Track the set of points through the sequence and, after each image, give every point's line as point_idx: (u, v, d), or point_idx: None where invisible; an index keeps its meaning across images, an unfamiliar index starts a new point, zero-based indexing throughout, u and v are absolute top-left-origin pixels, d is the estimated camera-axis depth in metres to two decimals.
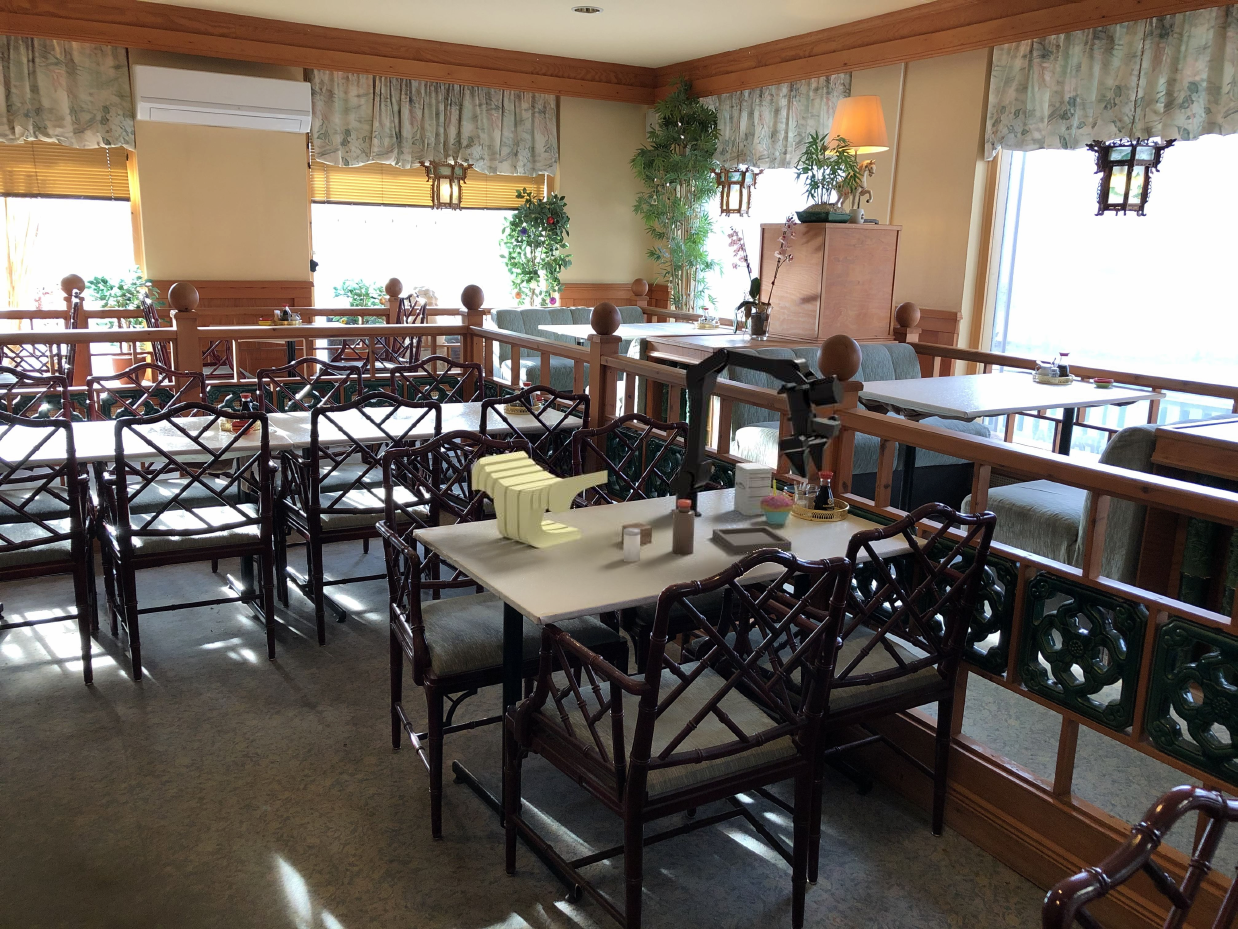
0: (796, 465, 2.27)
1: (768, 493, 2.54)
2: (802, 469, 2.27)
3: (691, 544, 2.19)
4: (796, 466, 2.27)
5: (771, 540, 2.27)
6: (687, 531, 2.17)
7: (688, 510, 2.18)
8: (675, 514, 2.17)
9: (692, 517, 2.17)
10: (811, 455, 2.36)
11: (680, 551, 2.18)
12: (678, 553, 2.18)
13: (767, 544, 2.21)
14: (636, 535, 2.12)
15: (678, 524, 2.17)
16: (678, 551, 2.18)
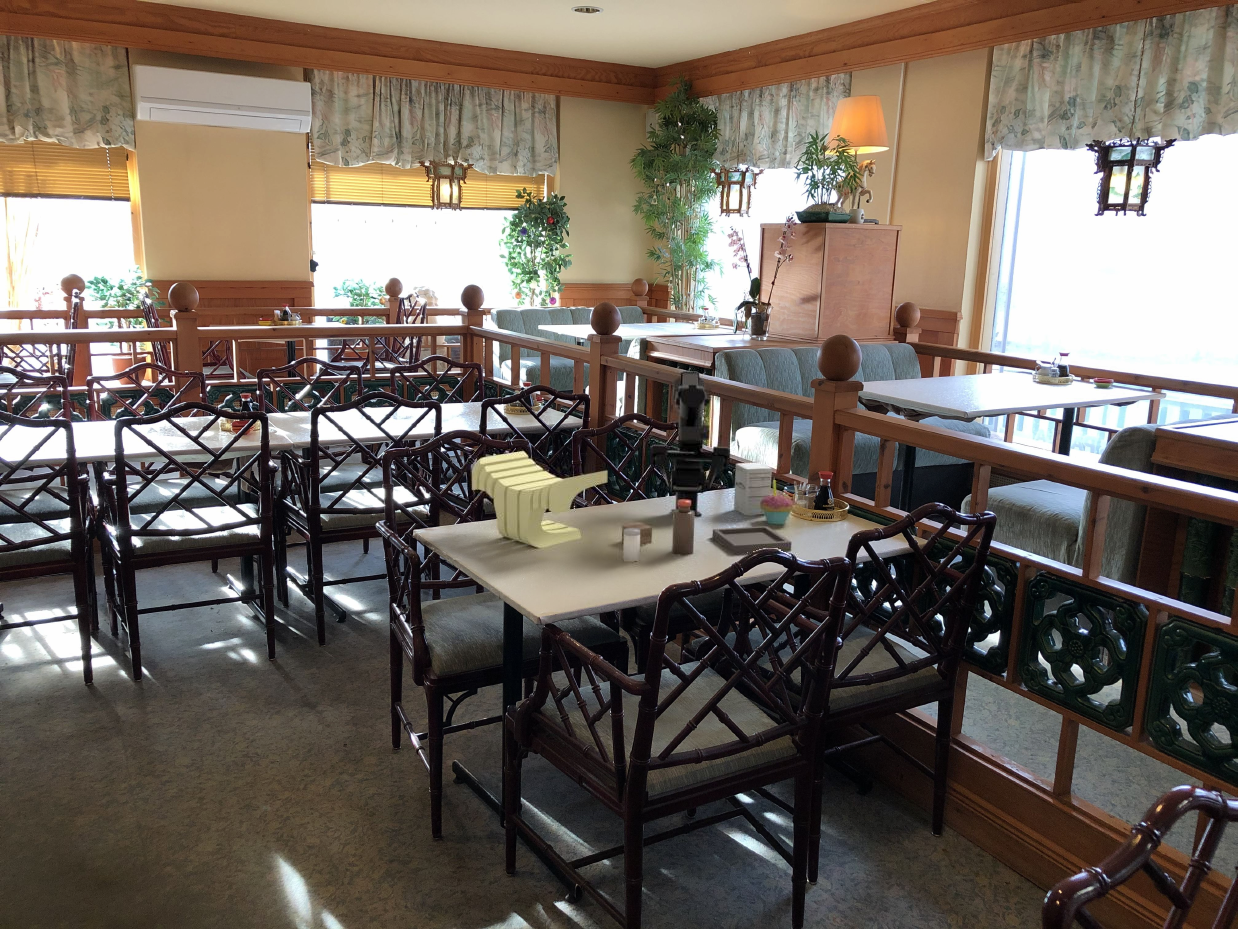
0: (664, 476, 2.28)
1: (768, 493, 2.54)
2: (666, 477, 2.27)
3: (691, 544, 2.19)
4: (665, 477, 2.28)
5: (771, 540, 2.27)
6: (687, 531, 2.17)
7: (688, 510, 2.18)
8: (675, 514, 2.17)
9: (692, 517, 2.17)
10: None
11: (680, 551, 2.18)
12: (678, 553, 2.18)
13: (767, 544, 2.21)
14: (636, 535, 2.12)
15: (678, 524, 2.17)
16: (678, 551, 2.18)
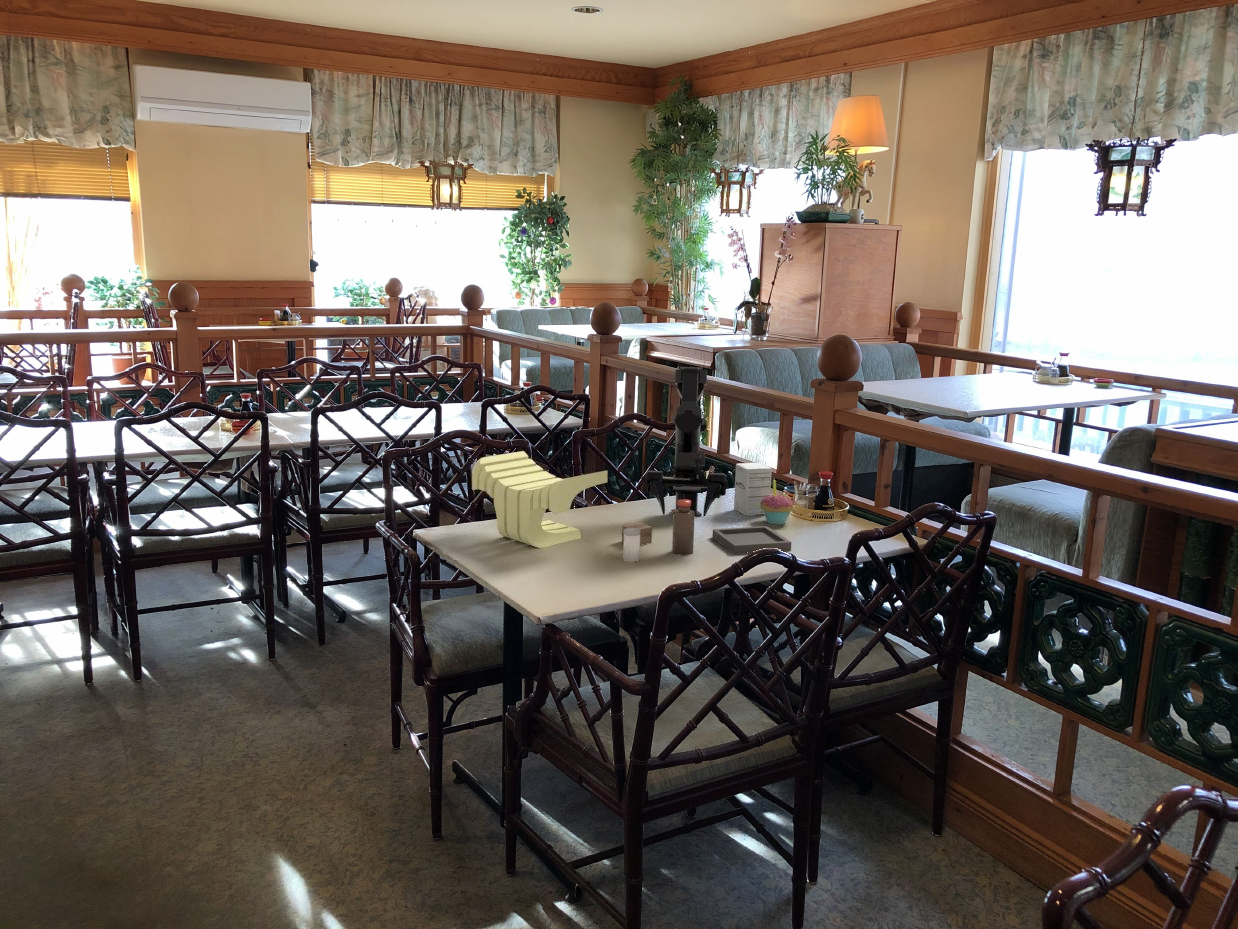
0: (659, 503, 2.23)
1: (768, 493, 2.54)
2: (660, 504, 2.21)
3: (691, 544, 2.19)
4: None
5: (771, 540, 2.27)
6: (687, 531, 2.17)
7: (688, 510, 2.18)
8: (675, 514, 2.17)
9: (692, 517, 2.17)
10: None
11: (680, 551, 2.18)
12: (678, 553, 2.18)
13: (767, 544, 2.21)
14: (636, 535, 2.12)
15: (678, 524, 2.17)
16: (678, 551, 2.18)
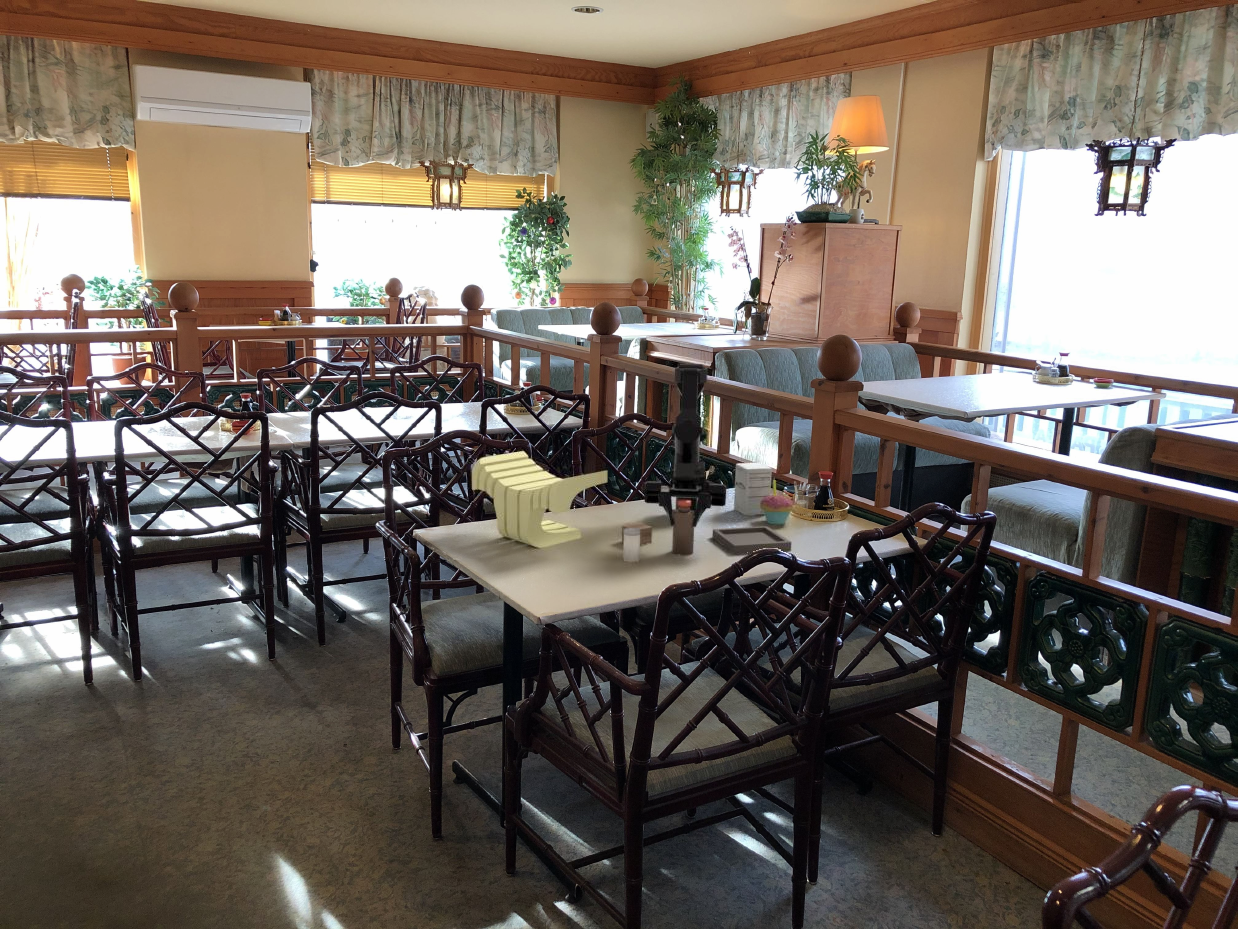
0: (667, 514, 2.21)
1: (768, 493, 2.54)
2: (668, 515, 2.19)
3: (691, 544, 2.19)
4: None
5: (771, 540, 2.27)
6: (687, 531, 2.17)
7: (688, 510, 2.18)
8: (675, 514, 2.17)
9: (692, 517, 2.17)
10: None
11: (680, 551, 2.18)
12: (678, 553, 2.18)
13: (767, 544, 2.21)
14: (636, 535, 2.12)
15: (678, 524, 2.17)
16: (678, 551, 2.18)
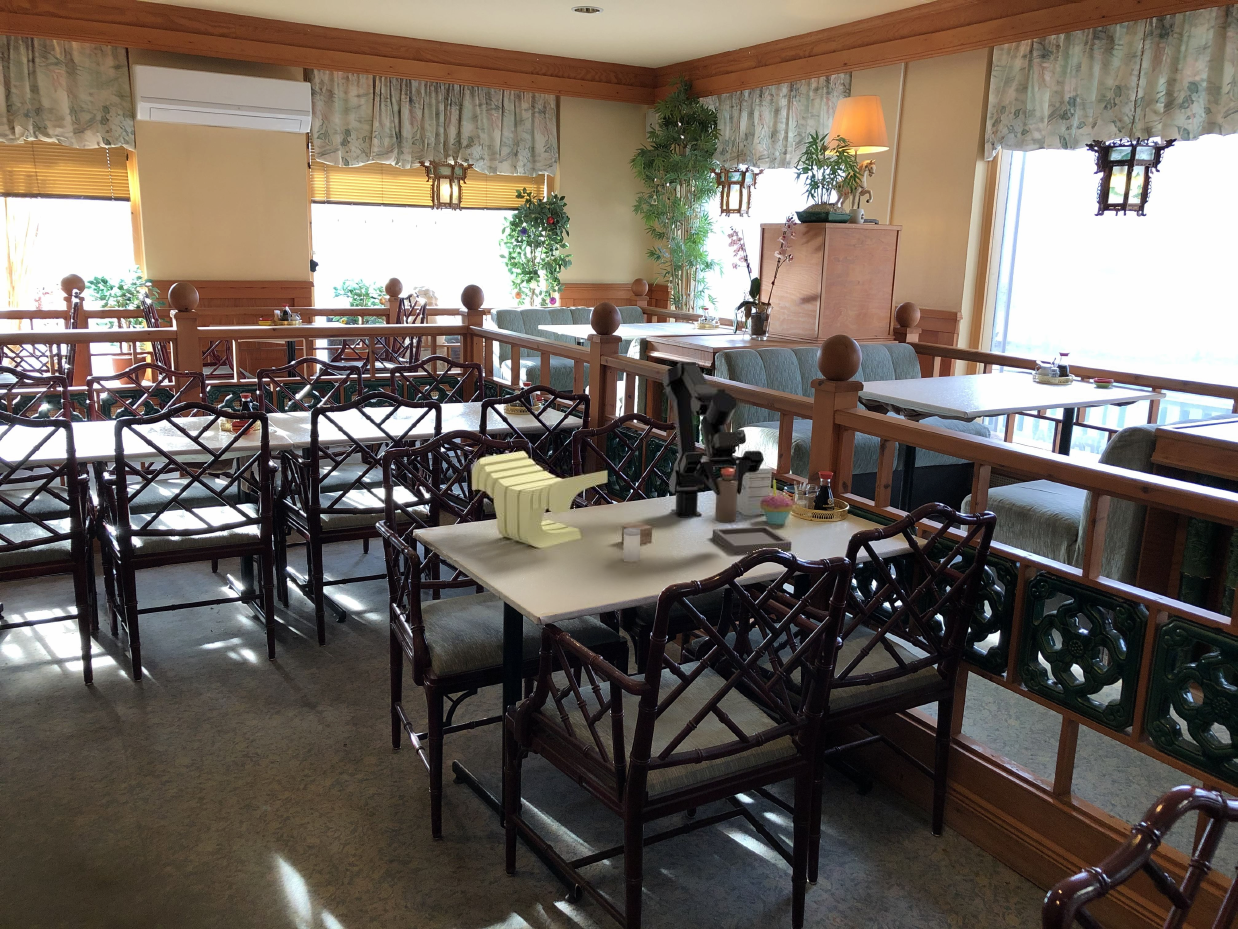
0: (709, 484, 2.21)
1: (768, 493, 2.54)
2: (713, 485, 2.20)
3: (736, 511, 2.21)
4: (709, 485, 2.21)
5: (771, 540, 2.27)
6: (733, 499, 2.19)
7: (732, 478, 2.20)
8: (721, 483, 2.19)
9: (737, 485, 2.20)
10: None
11: (727, 519, 2.20)
12: (725, 521, 2.20)
13: (767, 544, 2.21)
14: (636, 535, 2.12)
15: (725, 492, 2.19)
16: (725, 519, 2.20)
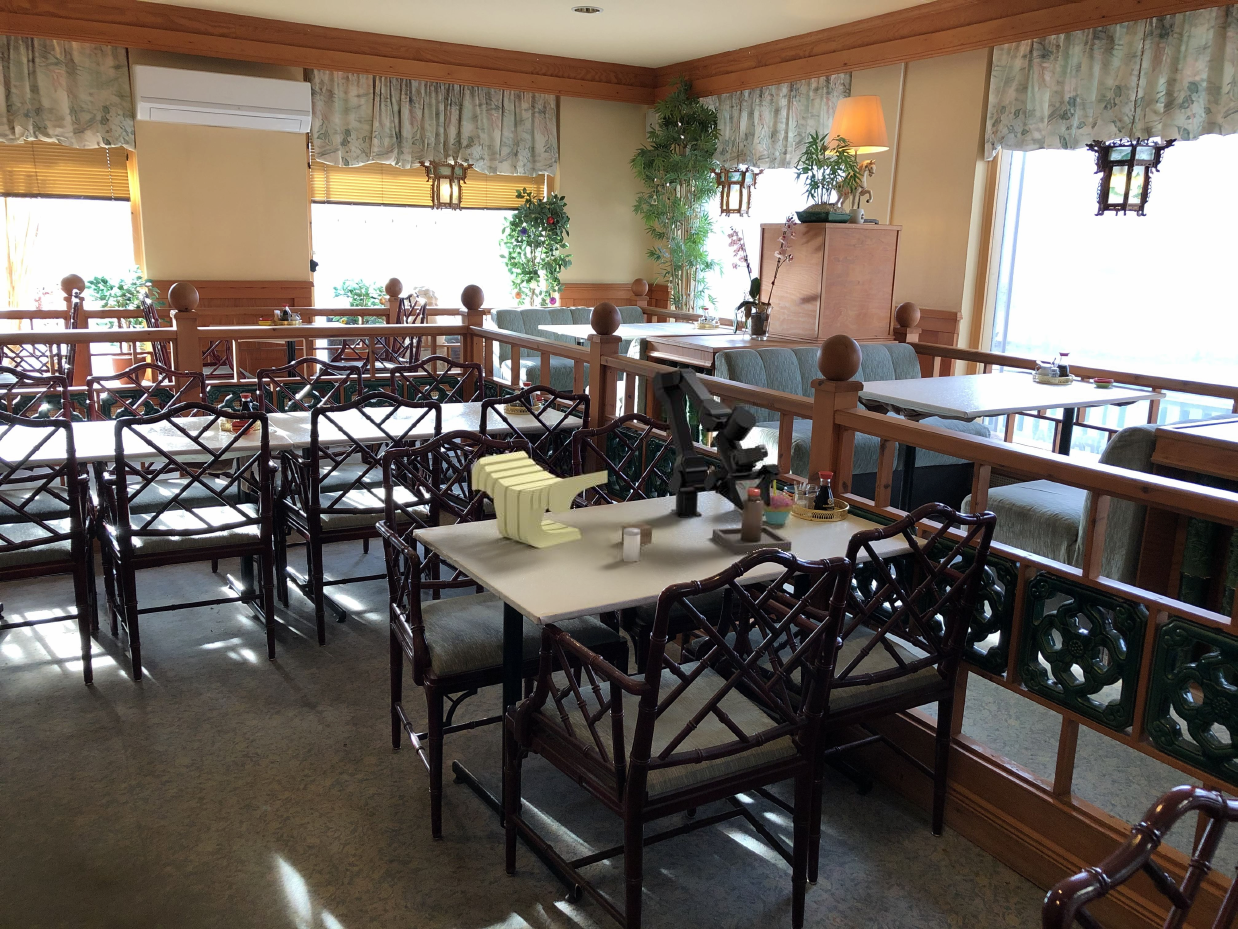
0: (731, 499, 2.25)
1: None
2: (737, 500, 2.24)
3: (761, 530, 2.27)
4: (732, 500, 2.25)
5: (771, 540, 2.27)
6: (761, 518, 2.25)
7: (758, 498, 2.26)
8: (750, 504, 2.24)
9: None
10: None
11: (755, 538, 2.26)
12: (753, 541, 2.26)
13: (767, 544, 2.21)
14: (636, 535, 2.12)
15: (754, 513, 2.24)
16: (753, 539, 2.25)
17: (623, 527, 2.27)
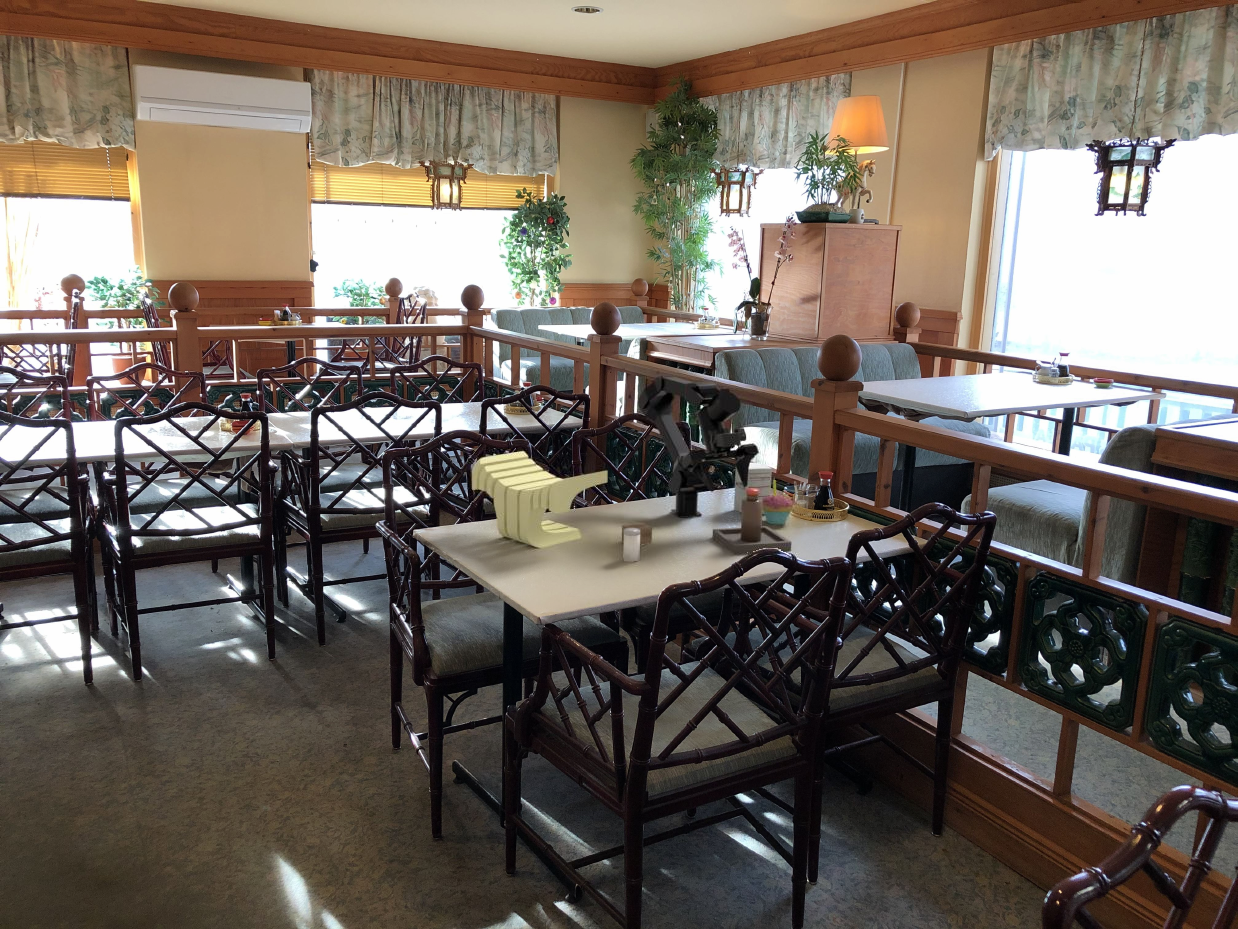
0: (703, 480, 2.34)
1: (768, 493, 2.54)
2: (708, 482, 2.33)
3: (761, 530, 2.27)
4: (704, 481, 2.34)
5: (771, 540, 2.27)
6: (760, 518, 2.25)
7: (757, 498, 2.26)
8: (749, 503, 2.24)
9: (762, 504, 2.26)
10: (739, 472, 2.39)
11: (755, 538, 2.26)
12: (753, 540, 2.26)
13: (767, 544, 2.21)
14: (636, 535, 2.12)
15: (753, 512, 2.24)
16: (753, 539, 2.25)
17: (623, 527, 2.27)
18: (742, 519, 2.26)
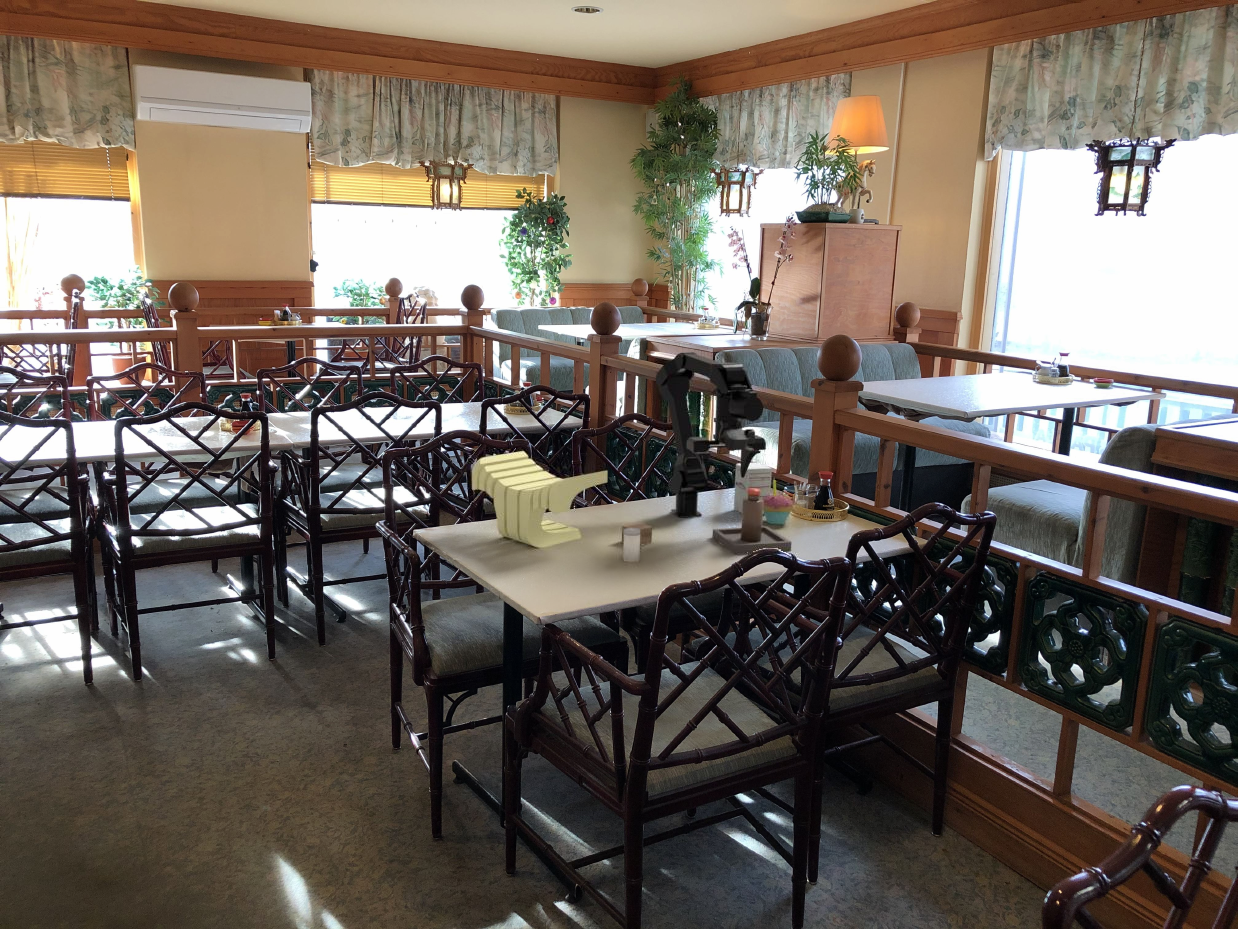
0: (702, 465, 2.36)
1: (768, 493, 2.54)
2: (705, 470, 2.35)
3: (761, 530, 2.27)
4: (702, 466, 2.36)
5: (771, 540, 2.27)
6: (761, 518, 2.25)
7: (758, 498, 2.26)
8: (750, 503, 2.24)
9: (763, 503, 2.26)
10: (741, 459, 2.39)
11: (755, 538, 2.26)
12: (753, 540, 2.26)
13: (767, 544, 2.21)
14: (636, 535, 2.12)
15: (754, 512, 2.24)
16: (753, 539, 2.25)
17: (623, 527, 2.27)
18: (743, 519, 2.26)
